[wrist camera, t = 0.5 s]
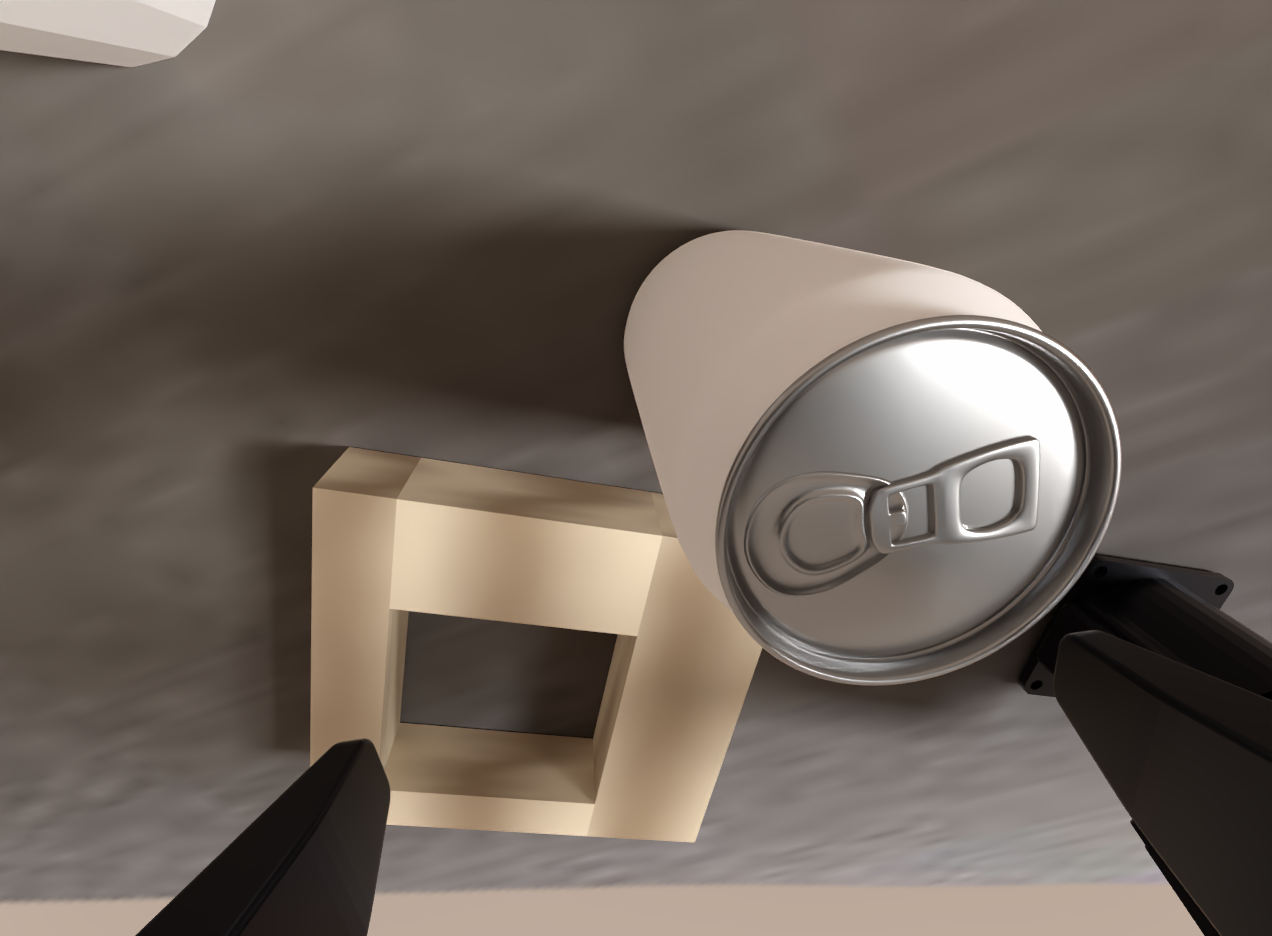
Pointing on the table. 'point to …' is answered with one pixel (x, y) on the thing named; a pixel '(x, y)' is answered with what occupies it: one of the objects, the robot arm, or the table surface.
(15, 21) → the white cup
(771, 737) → the table surface
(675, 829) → the frame
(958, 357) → the can
